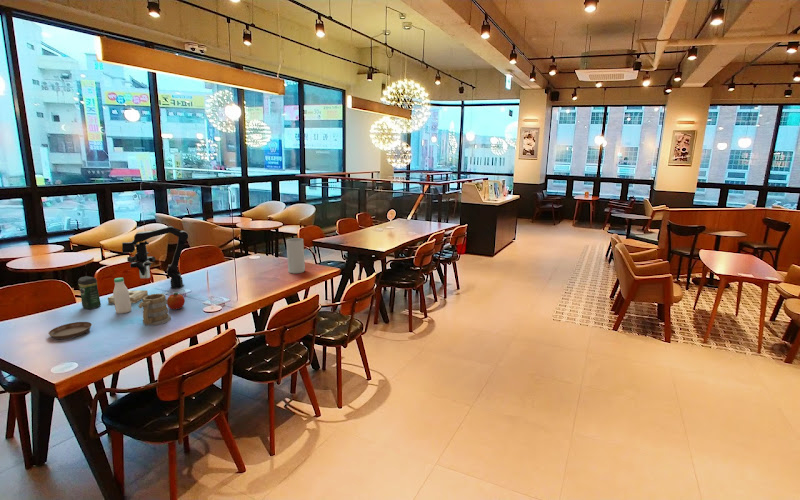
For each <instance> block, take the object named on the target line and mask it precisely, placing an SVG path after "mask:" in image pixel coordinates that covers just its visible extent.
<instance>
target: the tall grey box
mask: <svg viewBox="0 0 800 500" xmlns="http://www.w3.org/2000/svg"><path fill="white" fill-rule="evenodd" d="M138 271H139V272H138V273H139V279H150V278H151V271H150V268H149V265H146V269H145V275H142V274H141V272H140V270H139V269H138Z"/></svg>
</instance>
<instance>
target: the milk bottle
mask: <svg viewBox="0 0 800 500" xmlns="http://www.w3.org/2000/svg"><path fill="white" fill-rule="evenodd" d="M113 282H114V289H113V292H112V295H113V297H114V303H113V304H114V308H115V309H114V310H115V313H116V314H120V315H121V314H126V313H129V312H131V311H132V303H131V302H130V296H129V291H130V290H129V289H128V287H127V286H126V284H125V279H124V277H116V278H114V279H113Z"/></svg>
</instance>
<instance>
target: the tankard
mask: <svg viewBox="0 0 800 500" xmlns="http://www.w3.org/2000/svg"><path fill="white" fill-rule="evenodd" d="M167 299H168V298H166V295H165V293H153V294H148V296H145V297H143V298H142V299H141V300H142V301H140V303H139V304H138V308H139V309H143V310H142V323H143V324H144V325H145V326H158V325H162V324H166V323H167V322H169V321H170V320H171V319H172V317H171V315H170V314H169V307H168V305H167V304H168V303H167Z"/></svg>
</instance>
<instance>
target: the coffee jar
mask: <svg viewBox="0 0 800 500" xmlns="http://www.w3.org/2000/svg"><path fill="white" fill-rule="evenodd" d="M77 285H78V287H79V292H80V299H81V307H82V308H83V309H86V310H90V309H97V308H99V307H101V299H100V293H99V288H98V279H97V277H93V276H88V275H86V276H81V277H79V279H78V280H77Z"/></svg>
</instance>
